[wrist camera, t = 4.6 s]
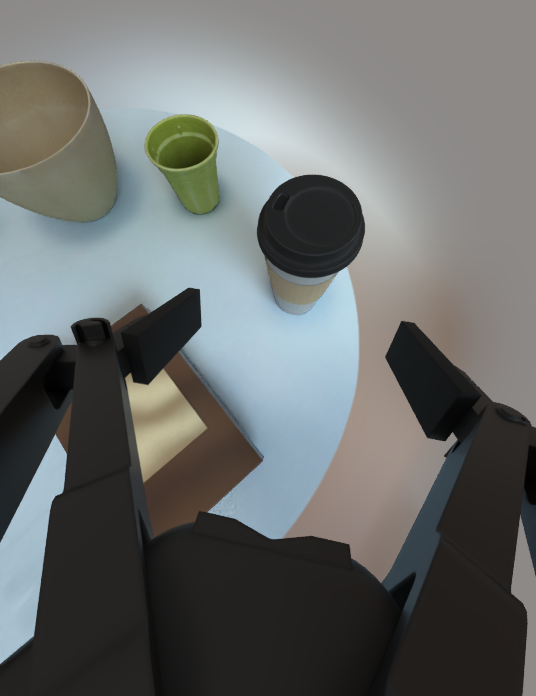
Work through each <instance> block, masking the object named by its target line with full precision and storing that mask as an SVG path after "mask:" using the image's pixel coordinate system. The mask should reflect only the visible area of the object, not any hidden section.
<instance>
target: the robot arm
mask: <svg viewBox="0 0 536 696" xmlns="http://www.w3.org/2000/svg"><path fill="white" fill-rule="evenodd" d="M200 328H201V306H200V289H194V288H187V289H186V290H184V291H183V292H181V293H180V294H178V295H177V296H175V297H174V298H172V299H171V300H169V301H168V302H166V303H165V304H163V305H162V306H160V307H159V308H157V309H156V310H154V311H153V312H151V313H149V314H148V315H144V316H141V317H138V318H136V319H134V320H133V321H131V322H130V323H128V324H126V325H125V326H123V327H121V328H120V329H118V330H117V331H115V332H114V333H112V329H111V326H110V322H109V321H108V320H107V319H104V318H88V319H83V320H80V321H77V322H75V323H74V324H72V326H71V329H72V332H73V334H74V337H75V340H76V342H77V345H62V343H61V341H60V339H59V337H58V336H55V335H36V336H32V337H30V338H28V339H25V340H23V341H21V342H20V343H18V344H17V345H16V346H15V347H14V348H13V349H12V350H11V351H10V352H9V353H8V354H7V355H6V356H5V357H4V358H3V359H2V360H0V542H1V540H2V538H3V536H4V534H5V532H6V530H7V528H8V526H9V524H10V522H11V520H12V518H13V516H14V514H15V512H16V510H17V508H18V507H19V505H20V503H21V501H22V499H23V497H24V495H25V493H26V491H27V489H28V487H29V485H30V483H31V481H32V479H33V477H34V475H35V473H36V471H37V469H38V467H39V465H40V463H41V461H42V459H43V457H44V455H45V453H46V451H47V449H48V447H49V445H50V443H51V441H52V439H53V437H54V435H55V433H56V431H57V430H58V428H59V426H60V424H61V422H62V420H63V418H64V416H65V414H66V412H67V410H68V408H69V406H70V404H71V402H72V408H71V419H70V429H69V440H68V451H67V462H66V473H65V483H64V490H63V493H62V494H60V495H57V496H55V498H54V500H53V501H52V505H51V510H50V516H49V524H48V532H47V539H46V547H45V555H44V563H43V570H42V578H41V586H40V594H39V602H38V609H37V617H36V625H35V633H34V637H32V638H31V639H30V640H29V641H28V642H26V643H25V644H24V645H23V646H21V647H20V648H19V649H18V650H17V651H15V652H14V653H13V654H12V655H11V656H9V657H8V658H7V659H6V660H5V661H3V662H2V663H1V664H0V696H522V693H523V679H524V665H525V650H526V637H527V611H526V609H525V607H524V605H523V603H522V602H521V601H519V600H518V599H517V598H516V597H515V596H514V595H512V594H511V584H512V575H513V568H514V560H515V551H516V544H517V536H518V527H519V520H520V515H521V519H522V523H523V526H524V530H525V534H526V539H527V543H528V546H529V550H530V555H531V559H532V563H533V567H534V571H535V575H536V428H535V427H532V426H531V424H530V421H529V420H528V419H527V418H526V417H525V416H524V415H522V414H521V413H520V412H518V411H516V410H515V409H513V408H511V407H509V406H506V405H504V404H500V403H496V402H493V401H492V400H491V399H490V398H489V397H488V396H487V395H486V394H485V393H484V392H483V391H482V390H481V389H480V388H479V387H478V386H476V384H475V383H474V382H473V381H472V380H471V379H470V378H469V376H468V375H466V373H465V372H463V371H462V370H460V369H459V368H457V367H456V366H454V365H453V364H452V363H451V362H450V361H449V360H448V359H447V358H446V357H445V356H444V354H443V353H442V352H441V351H440V350H439V349H438V348H437V347H436V346H435V345H434V344H433V343H432V342H431V340H430V339H429V338H428V337H427V336H426V335H425V334H424V333H423V332H422V331H421V330H420V329H419V328H418V327H417V326H416V324H415V323H411V322H405V321H401V323H400V325H399V328H398V330H397V332H396V334H395V337H394V339H393V341H392V343H391V345H390V348H389V350H388V352H387V354H386V356H385V357H386V360H387V362H388V364H389V366H390V368H391V369H392V371H393V373H394V375H395V377H396V379H397V381H398V383H399V385H400V387H401V389H402V390H403V392H404V394H405V396H406V398H407V400H408V402H409V404H410V406H411V408H412V410H413V412H414V413H415V415H416V417H417V419H418V421H419V423H420V425H421V426H422V429H423V431H424V432H425V435H426V436H427V438H430V439H435V440H441V441H446V440H447V438H448V437H449V436H450V435H451V433H452V432H453V433H454V435H455V436H456V437H457V439H458V440H457V441H456V442H455V443H454V445H453V446H452V447H451V448H450V449H449V451H448V452H447V453H446V454H445V455H444V456H445V457H446V460H445V462H444V464H443V466H442V468H441V470H440V473H439V474H438V476H437V478H436V480H435V482H434V484H433V486H432V488H431V490H430V492H429V494H428V496H427V498H426V500H425V503H424V504H423V506H422V508H421V510H420V512H419V514H418V516H417V518H416V520H415V522H414V524H413V526H412V529H411V530H410V532H409V534H408V536H407V538H406V541H405V543H404V544H403V546H402V548H401V550H400V552H399V554H398V556H397V558H396V561H395V563H394V564H393V567H392V569H391V570H390V572H389V573H388V575H387V576H386V578H385V579H384V580H383V582H382V583H380V582H379V581H378V579H377V578H376V577H375V576H374V575H373V574H371V573H370V572H369V571H368V570H367V569H366V568H365V567H363V566H362V565H361V564H359V563H358V562H356V561H355V560H353V559H351V554H350V546H349V544H345V543H341V542H336V541H332V540H327V539H323V538H318V537H314V536H306V537H296V538H285V539H269V538H267V537H265V536H264V535H262V534H260V533H258V532H257V531H255V530H253V529H251V528H250V527H248V526H246V525H245V524H243V523H241V522H239V521H238V520H236V519H234V518H229V517H225V516H220V515H216V514H211V513H207V512H202V511H199V513H198V515H197V518H196V521H195V522H191V523H186V524H181V525H178V526H175V527H173V528H170V529H168V530H166V531H164V532H162V533H160V534H159V535H157V536H156V537H154V535H153V530H152V526H151V522H150V518H149V513H148V507H147V501H146V495H145V489H144V483H143V477H142V471H141V466H140V460H139V454H138V448H137V442H136V436H135V430H134V424H133V418H132V412H131V407H130V401H129V395H128V389H127V383H126V380H125V378H126V377H127V376H128V375H129V374H130V373H131V376H132V380H133V383H139V384H144V385H149V384H150V383H151V382H152V380H153V379H154V378H155V377H156V376H157V375H158V374H159V373H160V372H161V371H162V369H163V368H164V367H165V366H166V365H167V364H168V363H169V362H170V361H171V360H172V358H173V357H174V356H175V355H176V354H177V353H178V352H179V351H180V350H181V348H182V347H183V346H184V345H185V344H186V343H187V342H188V341H189V340H190V339H191V337H192V336H193V335H194V334H195V333H196V332H197V331H198V330H199V329H200Z"/></svg>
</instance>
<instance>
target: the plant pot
mask: <svg viewBox="0 0 536 696" xmlns="http://www.w3.org/2000/svg"><path fill="white" fill-rule="evenodd" d="M217 148H218V135H217V132H216V130H215V128H214V127H213V126H212V125H211V123H209V122H208V121H207V120H205V119H203V118H201V117H198V116H195V115H183V114H181V115H175V116H171V117H168V118H166V119H163V120H162V121H160V122H159V123H157V124H156V125H155V126H154V127H153V128H152V129H151V130H150V131H149V133H148V135H147V137H146V140H145V151H146V154H147V156H148V158H149V159H150V161H151V162H152V163H153V164H154V165H155V166H157V167H158V168H159V170H160V171H161V172H162V173H163V174H164V175H165V177H166V178H167V180H168V182H169V183H170V185H171V186H172V188H173V190H174V191H175V193H176V194H177V196H178V198H179V199H180V201H181V202H182V204H183V206H184V207H185V208H186V209H187V210H189V211H191V212H192V213H195V214H204V213H208V212H210V211H212V210H213V208H214V207H215V206H216V204H218V202H219V198H220V196H219V187H218V178H217V167H216V155H217Z"/></svg>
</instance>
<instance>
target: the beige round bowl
mask: <svg viewBox="0 0 536 696" xmlns="http://www.w3.org/2000/svg"><path fill="white" fill-rule="evenodd" d="M116 193H117V168H116V162H115V156H114V152H113V148H112V144H111V141H110V138H109V135H108V132H107V129H106V126H105V124H104V121H103V119H102V116H101V114H100V112H99V109H98V107H97V105H96V103H95V101H94V99H93V97H92V95H91V93H90V92H89V89H88V88H87V86H86V84H85V83H84V81H83V80H82V79H81V78H80V77H79V76H78V75H77V74H76V73H74V72H73V71H72V70H70V69H68V68H66V67H63V66H61V65H59V64H55V63H51V62H45V61H21V62H14V63H9V64H5V65H1V66H0V197H1V198H3V199H5V200H7V201H9V202H11V203H13V204H15V205H18V206H20V207H23V208H25V209H27V210H30V211H33V212H35V213H38V214H41V215H44V216H48V217H51V218H55V219H60V220H65V221H72V222H82V223H83V222H92V221H96V220H98V219H100V218H102V217H104V216H105V215H106V214H107V213H108V212H109V211H110V210H111V209H112V207H113V205H114V203H115V199H116Z"/></svg>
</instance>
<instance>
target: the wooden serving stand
mask: <svg viewBox="0 0 536 696" xmlns="http://www.w3.org/2000/svg"><path fill="white" fill-rule="evenodd" d="M149 313H151V311H150V310H149V309H147V308H146V307H145V306H143V305H142V304H140V305H139V306H138V307H136V308H135V309H134V310H132V311H131V312H129V313H128V314H127V315H125V316H124V317H123V318H121V319H120V320H118V321H117V322H116V323H114V324H113V325H112V326H111V329H112V333H114V332H115V331H117V330H118V329H120V328H121V327H123V326H125V325H126V324H128V323H130V322H131V321H133V320H134V319H136V318H138V317H141V316H144V315H148V314H149ZM125 380H126V383H127V389H128V395H129V401H130V407H131V412H132V418H133V424H134V430H135V436H136V442H137V448H138V454H139V460H140V466H141V471H142V477H143V483H144V489H145V495H146V501H147V507H148V513H149V518H150V522H151V526H152V530H153V535H154V537H156V536H157V535H159V534H160V533H162V532H164V531H166V530H168V529H170V528H173V527H175V526H178V525H181V524H186V523H191V522H195V521H196V518H197V515H198V513H199V511H202V512H208V511H209V510H210V509H211V508H212V507H213V506H215V505H216V504H217V503H218V502H219V501H220V500H221V499H222V498H223V497H224V496H225V495H227V494H228V493H229V492H230V491H231V490H232V489H233V488H234V487H235V486H236V485H237V484H238V483H240V482H241V481H242V480H243V479H244V478H245V477H246V476H247V475H248V474H249V473H250V472H252V471H253V470H254V469H255V468H256V467H257V466H258V465H259V464H260V463H261V462H262V461H263V458H264V456H263V455H262V454H261V453H260V451H259V450H258V449H257V447H256V446H255V445H254V444H253V442H252V441H251V440H250V438H249V437H248V436H247V435H246V433H245V432H244V431H243V429H242V428H241V427H240V426H239V424H238V423H237V422H236V420H235V419H234V418H233V417H232V415H231V414H230V413H229V411H228V410H227V409H226V408H225V406H224V405H223V404H222V402H221V401H220V400H219V399H218V397H217V396H216V395H215V393H214V392H213V391H212V390H211V388H210V387H209V386H208V385H207V383H206V382H205V381H204V379H203V378H202V377H201V376H200V374H199V373H198V372H197V370H196V369H195V368H194V367H193V365H192V364H191V363H190V361H189V360H188V359H187V358H186V356H185V355H184V354H183V352H182V351H181V350H180V351H179V352H178V353H177V354H176V355H175V356H174V357H173V358H172V360H171V361H170V362H169V363H168V364H167V365H166V366H165V367H164V368H163V369H162V371H161V372H160V373H159V374H158V375H157V376H156V377H155V378H154V379H153V380H152V382H151V383H150V384H149V385H144V384H139V383H133V380H132V376H131V373H130V374H129V375H128V376H127V377H126V378H125ZM71 408H72V402H71V404H70V406H69V408H68V410H67V412H66V414H65V416H64V418H63V420H62V422H61V424H60V426H59V428H58V430H57V431H56V433H55V434H56V436H57V437H58V439H59V441H60V443H61V444H62V446H63V448H64V450H65V451H66V453H67V451H68V440H69V429H70V419H71Z"/></svg>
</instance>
